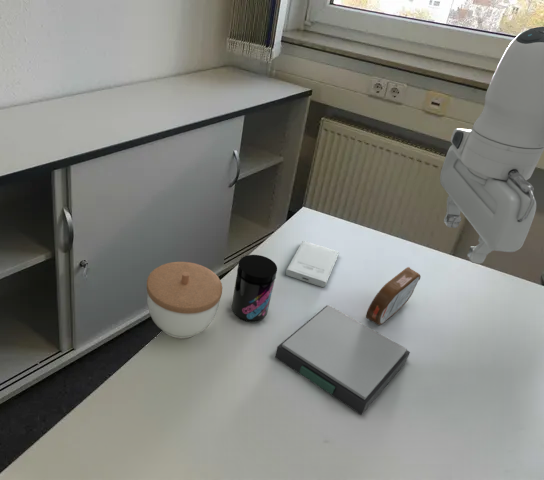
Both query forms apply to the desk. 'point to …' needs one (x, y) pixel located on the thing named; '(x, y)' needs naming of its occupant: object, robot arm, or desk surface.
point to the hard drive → (312, 263)
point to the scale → (343, 357)
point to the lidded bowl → (183, 298)
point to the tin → (393, 296)
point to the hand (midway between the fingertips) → (461, 242)
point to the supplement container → (253, 287)
